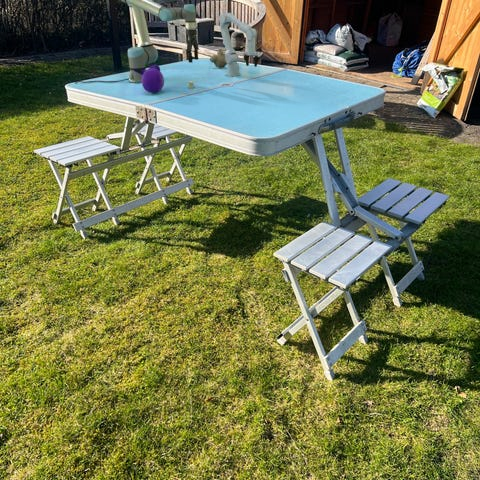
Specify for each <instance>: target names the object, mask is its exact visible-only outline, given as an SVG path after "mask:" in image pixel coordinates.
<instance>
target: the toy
mask: <svg viewBox="0 0 480 480" xmlns="http://www.w3.org/2000/svg"><path fill="white" fill-rule="evenodd" d="M134 71H135V72H137V73H139V74H141V75H143V76H142V83H141V85H142V87H143V89H144V90H145V91H146V92H147V93H151V94H157V93H159V92H160V91H161V90H162V89H163V87H164V86H165V78H164V75H163V72H161V67H160V66H159V65H158V64H153V65H151V66H149V67H148V68H146V70H134Z"/></svg>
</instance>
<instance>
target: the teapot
mask: <svg viewBox="0 0 480 480" xmlns="http://www.w3.org/2000/svg"><path fill="white" fill-rule="evenodd" d="M225 53H226V51H225V52H224V51H223V50H222V48H218V51H217V53H216V54H212V55H211V56H210V57H209V61H210V62H211V63H213V65H214V66H215V68H217V69H222V68H225V67H226V66H227V62H226V60H225Z"/></svg>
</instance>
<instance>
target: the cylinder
mask: <svg viewBox="0 0 480 480" xmlns="http://www.w3.org/2000/svg"><path fill="white" fill-rule="evenodd" d="M187 84H188V88H189V89H194V88H195V82H194V80H193V81H192V80H190V81H188V83H187Z"/></svg>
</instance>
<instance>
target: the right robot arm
mask: <svg viewBox="0 0 480 480" xmlns="http://www.w3.org/2000/svg"><path fill="white" fill-rule="evenodd" d="M218 21H219V29H220V34H221V36H222V37H221V38H222V40H223V44H224V48H225V52H226V53H225V52H224V53H225V60H226V62H227V65H226V66H227V74H225V76H226V77H236V76H240V75H241V73H240V64H239V63H238V61H239V60H240V59H239V55H238V53H237V51H236V50H235V49H234V46H233V43H232V39H231V36H230V32H229V26H230V24H231V23H233V24H234V25H235V26H237V27H238V28H239V31H241V32H242V33H243V34H244V35H245V37H246V40H247V52H246V51H245V52H242V58H243V59H244V62H245V66H246V67H249V66H250V57H253V62H254V63H253V65H254V68H256V67H258V63H259V60H260V58H261V53H257V52H256V37H257V36H258V31H257V29H256V28H252V27H251V26H249V24H247V23H246V22H241V20H239V19H238V18H237V17H236V16H235V14H233V13H232V12H225V13H223V12H222V13H220V15H219V16H218Z"/></svg>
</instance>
